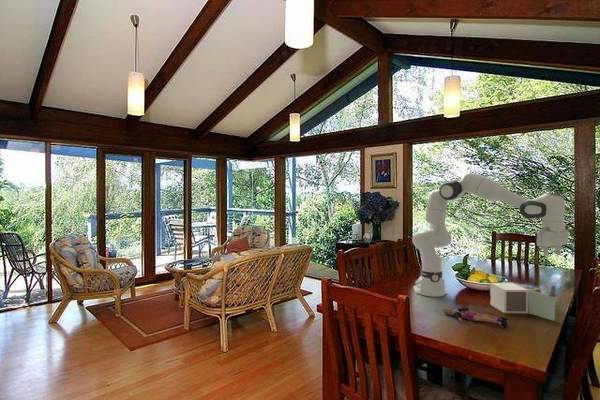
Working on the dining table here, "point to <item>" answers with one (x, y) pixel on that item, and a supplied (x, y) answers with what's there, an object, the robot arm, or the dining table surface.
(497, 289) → the carton
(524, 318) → the dining table surface
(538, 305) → the end flap
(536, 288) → the toy car
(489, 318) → the character figurine
